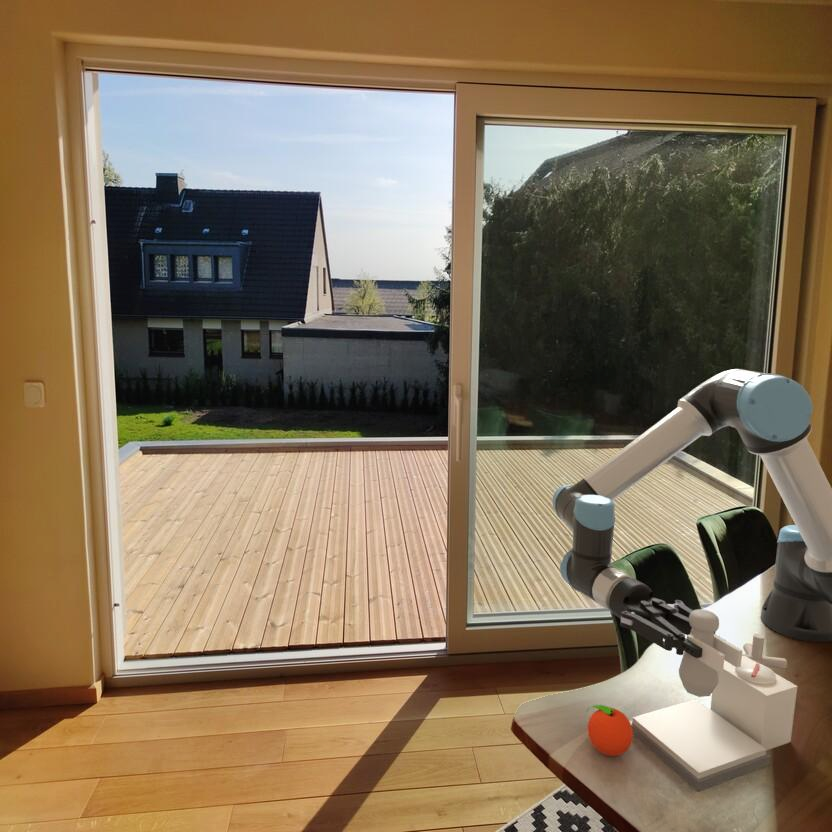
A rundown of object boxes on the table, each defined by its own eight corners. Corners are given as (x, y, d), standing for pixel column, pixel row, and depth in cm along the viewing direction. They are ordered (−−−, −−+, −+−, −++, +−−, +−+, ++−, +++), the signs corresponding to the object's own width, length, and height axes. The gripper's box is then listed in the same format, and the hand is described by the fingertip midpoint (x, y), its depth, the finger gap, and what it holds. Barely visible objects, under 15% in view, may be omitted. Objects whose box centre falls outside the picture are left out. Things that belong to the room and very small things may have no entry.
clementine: (571, 745, 104) (574, 705, 102) (596, 727, 108) (598, 689, 107) (616, 772, 98) (619, 730, 96) (639, 752, 102) (643, 712, 101)
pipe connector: (791, 704, 115) (798, 653, 114) (732, 696, 117) (737, 646, 116) (773, 674, 125) (778, 626, 123) (718, 667, 127) (723, 620, 125)
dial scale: (727, 699, 117) (733, 643, 115) (804, 751, 103) (812, 689, 101) (627, 729, 108) (631, 670, 106) (697, 791, 94) (704, 724, 92)
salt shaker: (709, 705, 98) (718, 626, 96) (672, 690, 102) (679, 613, 100) (721, 688, 102) (729, 612, 100) (685, 675, 106) (692, 601, 104)
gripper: (656, 608, 121) (766, 673, 100) (586, 622, 115) (688, 695, 93) (659, 570, 120) (771, 628, 98) (589, 583, 113) (692, 648, 92)
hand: (730, 661), depth 96 cm, fingers closed on salt shaker, 3 cm apart
